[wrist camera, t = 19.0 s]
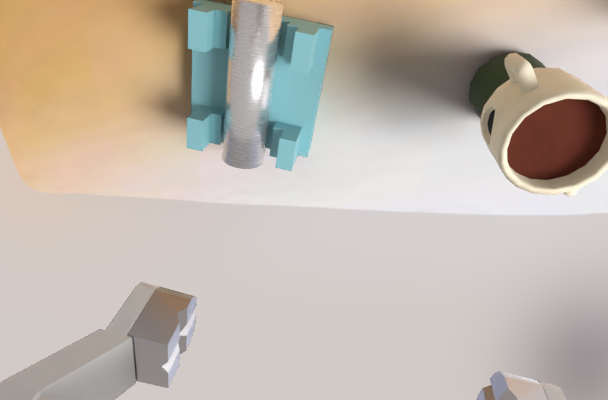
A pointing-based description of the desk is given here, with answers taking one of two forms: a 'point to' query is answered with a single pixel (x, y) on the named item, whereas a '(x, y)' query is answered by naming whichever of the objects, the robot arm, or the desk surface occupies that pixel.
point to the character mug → (541, 124)
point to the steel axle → (250, 80)
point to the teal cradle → (286, 89)
